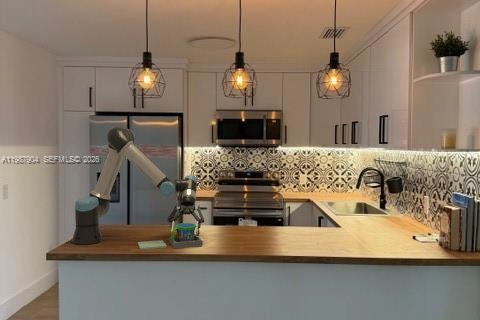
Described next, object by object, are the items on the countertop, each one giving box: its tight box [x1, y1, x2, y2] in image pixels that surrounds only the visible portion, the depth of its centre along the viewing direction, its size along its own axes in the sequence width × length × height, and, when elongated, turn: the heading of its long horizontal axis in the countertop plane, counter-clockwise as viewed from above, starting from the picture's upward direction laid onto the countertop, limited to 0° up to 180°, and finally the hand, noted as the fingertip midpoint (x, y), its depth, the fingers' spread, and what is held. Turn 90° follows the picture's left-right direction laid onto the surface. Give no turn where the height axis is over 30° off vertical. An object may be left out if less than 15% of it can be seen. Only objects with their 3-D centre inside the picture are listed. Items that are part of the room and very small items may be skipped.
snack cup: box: [170, 222, 200, 242], centre depth 214 cm, size 16×10×10 cm
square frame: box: [169, 234, 203, 250], centre depth 214 cm, size 14×14×3 cm
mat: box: [137, 239, 167, 251], centre depth 211 cm, size 13×13×1 cm
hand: (184, 233), depth 211 cm, fingers closed on snack cup, 12 cm apart
